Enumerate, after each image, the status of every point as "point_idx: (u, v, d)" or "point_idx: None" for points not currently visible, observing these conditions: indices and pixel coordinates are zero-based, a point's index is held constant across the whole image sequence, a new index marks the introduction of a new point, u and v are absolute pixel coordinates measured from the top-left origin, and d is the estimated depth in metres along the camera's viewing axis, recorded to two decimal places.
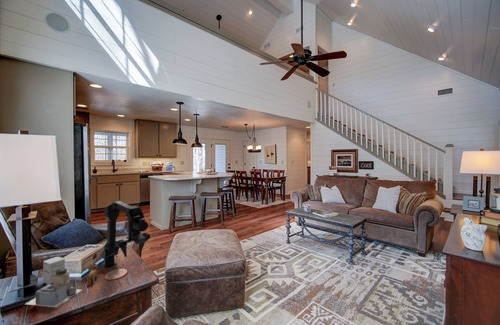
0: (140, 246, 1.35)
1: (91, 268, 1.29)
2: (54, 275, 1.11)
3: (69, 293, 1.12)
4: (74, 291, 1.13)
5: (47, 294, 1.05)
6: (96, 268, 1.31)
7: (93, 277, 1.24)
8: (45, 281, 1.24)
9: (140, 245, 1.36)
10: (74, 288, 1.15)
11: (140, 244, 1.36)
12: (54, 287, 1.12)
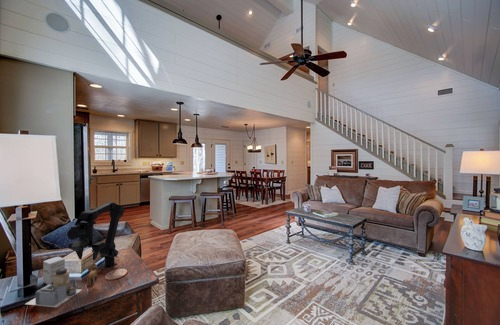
0: None
1: (91, 268, 1.29)
2: (54, 275, 1.11)
3: (69, 293, 1.12)
4: (74, 291, 1.14)
5: (47, 294, 1.05)
6: (96, 268, 1.30)
7: (93, 277, 1.24)
8: (45, 281, 1.24)
9: None
10: (74, 288, 1.15)
11: None
12: (54, 287, 1.12)
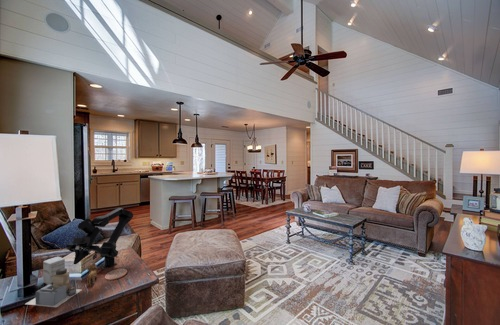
0: None
1: (91, 269, 1.28)
2: (54, 275, 1.11)
3: (69, 293, 1.12)
4: (74, 291, 1.14)
5: (47, 294, 1.05)
6: (96, 269, 1.30)
7: (93, 278, 1.24)
8: (45, 281, 1.24)
9: None
10: (74, 288, 1.15)
11: None
12: (54, 287, 1.12)
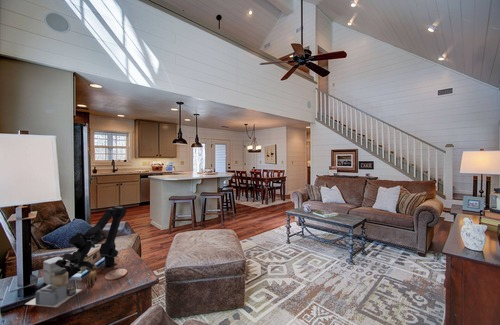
0: None
1: None
2: (53, 276, 1.11)
3: (70, 293, 1.12)
4: (75, 290, 1.14)
5: (47, 294, 1.05)
6: (96, 269, 1.30)
7: (93, 278, 1.23)
8: (45, 281, 1.24)
9: None
10: (73, 288, 1.15)
11: None
12: (53, 288, 1.11)
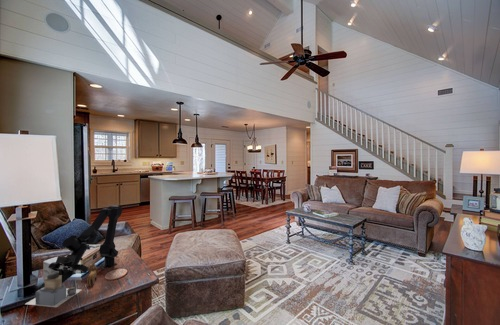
0: None
1: (91, 269, 1.28)
2: (46, 280, 1.07)
3: (70, 292, 1.12)
4: (75, 290, 1.14)
5: (47, 294, 1.05)
6: (96, 269, 1.29)
7: (93, 278, 1.23)
8: None
9: None
10: (73, 288, 1.15)
11: None
12: None
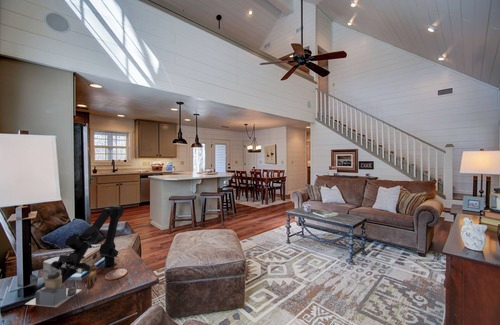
0: None
1: (91, 269, 1.28)
2: (46, 279, 1.07)
3: (71, 293, 1.12)
4: (75, 290, 1.14)
5: (47, 294, 1.05)
6: (96, 269, 1.29)
7: (93, 278, 1.23)
8: None
9: None
10: (74, 288, 1.15)
11: None
12: None
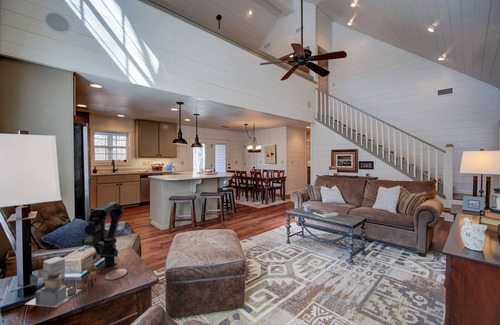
0: None
1: (90, 270, 1.27)
2: (46, 279, 1.07)
3: (72, 292, 1.13)
4: (75, 289, 1.15)
5: (47, 294, 1.05)
6: (95, 270, 1.29)
7: (93, 279, 1.23)
8: None
9: None
10: (73, 288, 1.15)
11: None
12: None
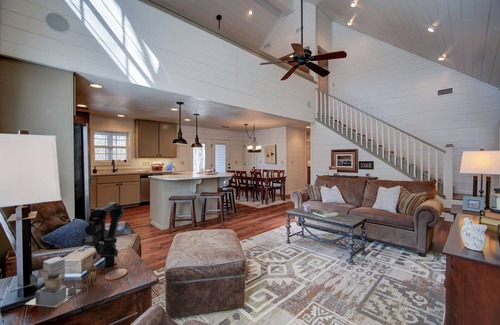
0: None
1: (90, 270, 1.27)
2: (46, 279, 1.07)
3: (73, 292, 1.13)
4: (76, 289, 1.15)
5: (47, 294, 1.05)
6: (95, 270, 1.28)
7: (93, 279, 1.22)
8: None
9: None
10: None
11: None
12: None
